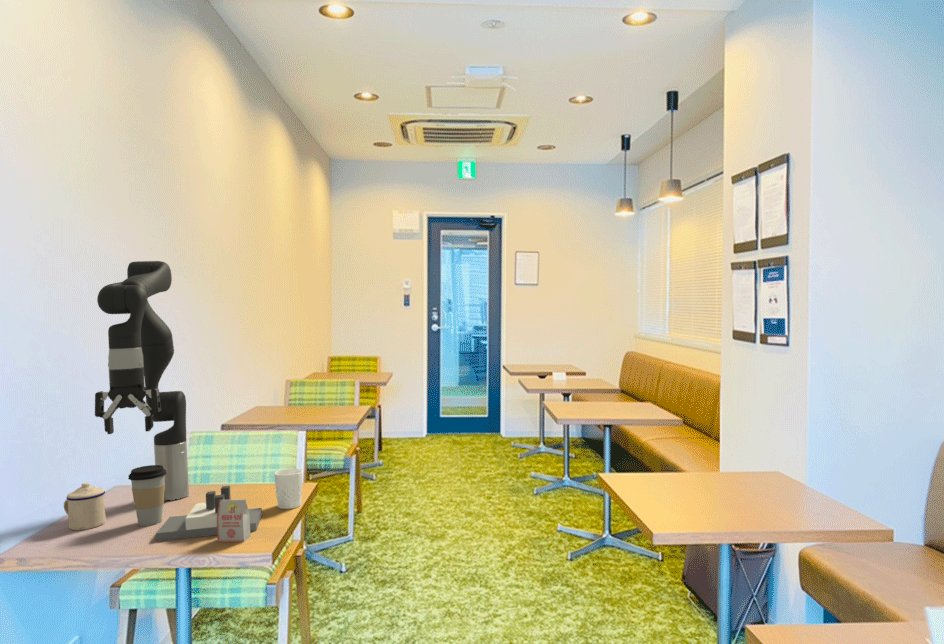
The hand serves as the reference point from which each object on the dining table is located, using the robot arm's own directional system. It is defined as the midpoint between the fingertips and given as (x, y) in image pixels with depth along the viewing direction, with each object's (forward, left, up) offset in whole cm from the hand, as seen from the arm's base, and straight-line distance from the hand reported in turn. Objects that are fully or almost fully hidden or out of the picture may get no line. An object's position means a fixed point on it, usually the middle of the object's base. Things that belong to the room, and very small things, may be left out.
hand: (129, 432), depth 154 cm
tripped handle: (-9, +16, -23) cm, 30 cm away
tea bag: (+2, +24, -29) cm, 37 cm away
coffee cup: (-19, -2, -29) cm, 34 cm away
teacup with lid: (-23, -20, -29) cm, 42 cm away
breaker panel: (-9, +16, -28) cm, 34 cm away
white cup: (-22, +35, -29) cm, 51 cm away
